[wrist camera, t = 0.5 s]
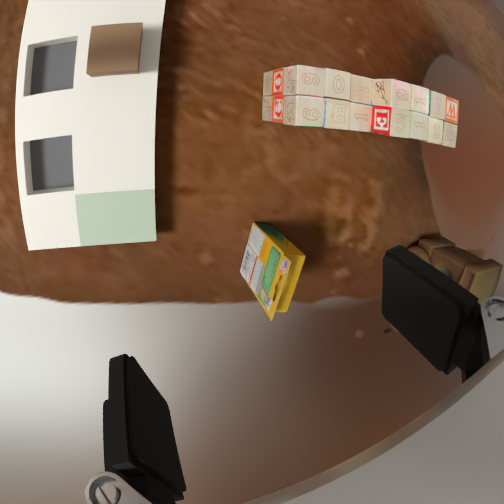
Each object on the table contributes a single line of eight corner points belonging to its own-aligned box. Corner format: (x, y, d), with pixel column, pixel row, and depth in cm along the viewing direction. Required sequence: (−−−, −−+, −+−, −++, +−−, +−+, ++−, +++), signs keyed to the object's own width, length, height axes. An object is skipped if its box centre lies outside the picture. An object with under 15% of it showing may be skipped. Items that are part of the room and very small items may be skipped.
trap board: (37, -5, 19) (31, -11, 17) (168, -19, 24) (170, -27, 22) (34, 242, 32) (28, 250, 30) (155, 233, 37) (156, 240, 35)
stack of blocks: (260, 122, 35) (309, 127, 25) (262, 72, 33) (312, 57, 22) (394, 134, 41) (456, 149, 31) (396, 95, 39) (460, 101, 28)
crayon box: (259, 273, 44) (293, 322, 34) (239, 272, 43) (269, 322, 33) (273, 224, 41) (315, 263, 31) (252, 221, 40) (290, 260, 30)
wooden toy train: (404, 230, 50) (476, 273, 35) (442, 227, 53) (506, 264, 39) (378, 324, 58) (431, 376, 44) (416, 313, 61) (466, 357, 47)
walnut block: (96, 33, 23) (91, 26, 20) (142, 30, 24) (142, 22, 22) (91, 77, 25) (86, 73, 22) (138, 73, 26) (137, 69, 24)
